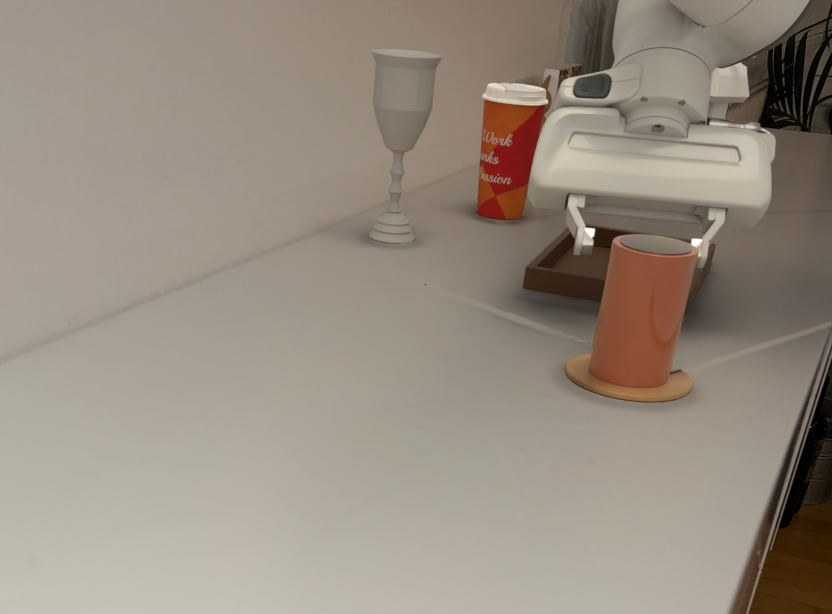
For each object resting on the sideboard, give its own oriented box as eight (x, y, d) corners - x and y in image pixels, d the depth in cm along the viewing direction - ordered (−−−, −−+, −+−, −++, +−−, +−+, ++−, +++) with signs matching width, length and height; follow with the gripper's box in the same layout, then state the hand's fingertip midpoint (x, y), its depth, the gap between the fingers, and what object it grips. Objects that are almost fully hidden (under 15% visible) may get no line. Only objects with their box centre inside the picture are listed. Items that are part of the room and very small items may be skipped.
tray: (684, 322, 101) (690, 294, 99) (521, 293, 105) (525, 266, 103) (710, 268, 118) (716, 243, 116) (569, 245, 122) (573, 221, 120)
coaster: (715, 385, 87) (716, 380, 87) (641, 411, 81) (642, 406, 81) (615, 348, 93) (616, 344, 93) (540, 370, 87) (540, 365, 87)
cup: (684, 378, 87) (716, 249, 81) (636, 393, 83) (666, 260, 78) (620, 354, 91) (646, 229, 85) (571, 368, 87) (595, 239, 81)
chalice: (352, 239, 118) (364, 53, 108) (366, 226, 123) (379, 47, 113) (418, 248, 116) (436, 60, 106) (429, 234, 122) (447, 54, 112)
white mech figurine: (689, 185, 155) (721, 42, 145) (636, 165, 165) (662, 31, 155) (755, 183, 159) (791, 45, 149) (700, 164, 169) (730, 33, 159)
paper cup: (457, 206, 134) (472, 81, 126) (512, 205, 137) (530, 82, 129) (485, 222, 128) (502, 91, 120) (542, 221, 131) (562, 92, 123)
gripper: (766, 148, 96) (753, 290, 94) (535, 127, 98) (516, 265, 95) (789, 99, 90) (776, 250, 87) (543, 78, 92) (523, 224, 89)
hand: (639, 258), depth 91 cm, fingers open, 8 cm apart
